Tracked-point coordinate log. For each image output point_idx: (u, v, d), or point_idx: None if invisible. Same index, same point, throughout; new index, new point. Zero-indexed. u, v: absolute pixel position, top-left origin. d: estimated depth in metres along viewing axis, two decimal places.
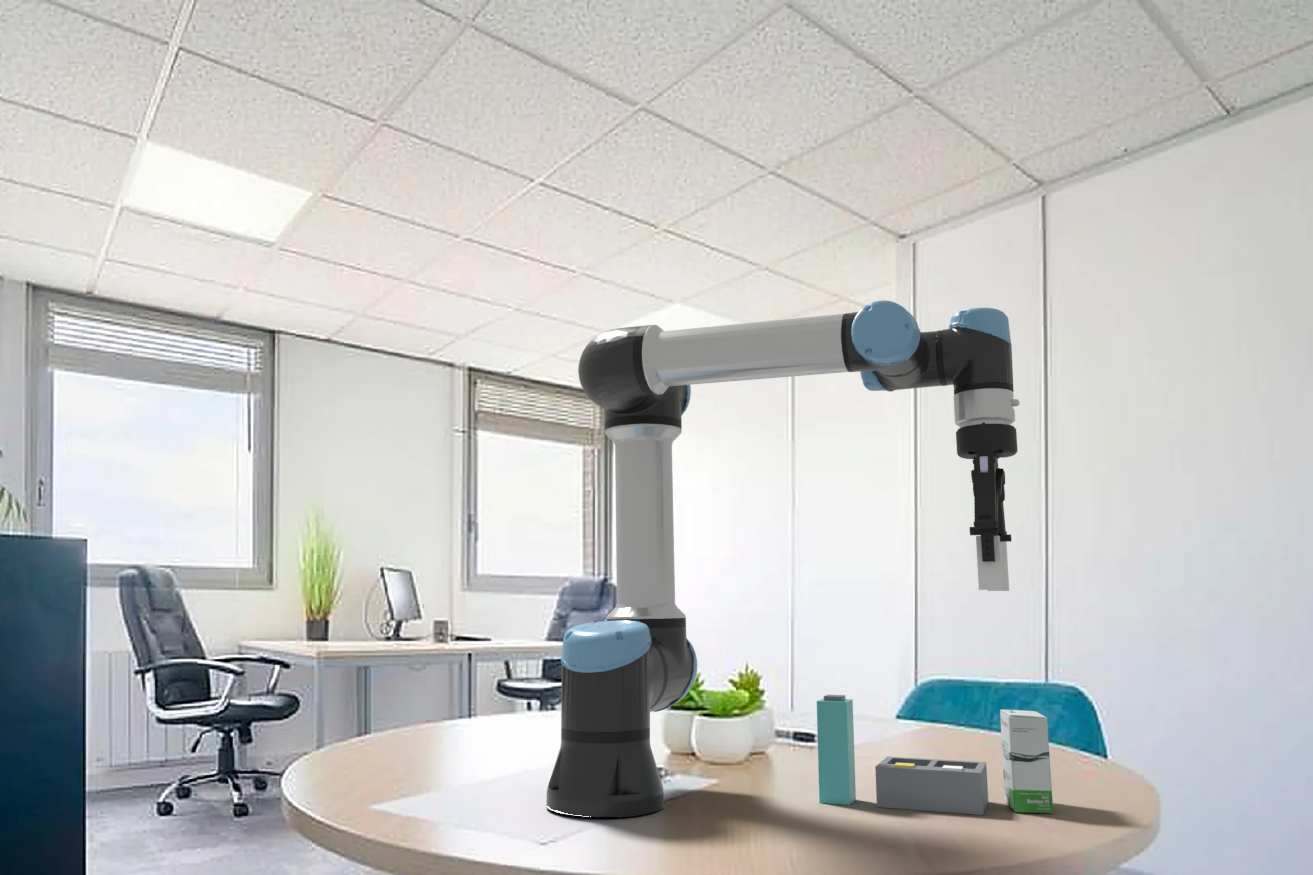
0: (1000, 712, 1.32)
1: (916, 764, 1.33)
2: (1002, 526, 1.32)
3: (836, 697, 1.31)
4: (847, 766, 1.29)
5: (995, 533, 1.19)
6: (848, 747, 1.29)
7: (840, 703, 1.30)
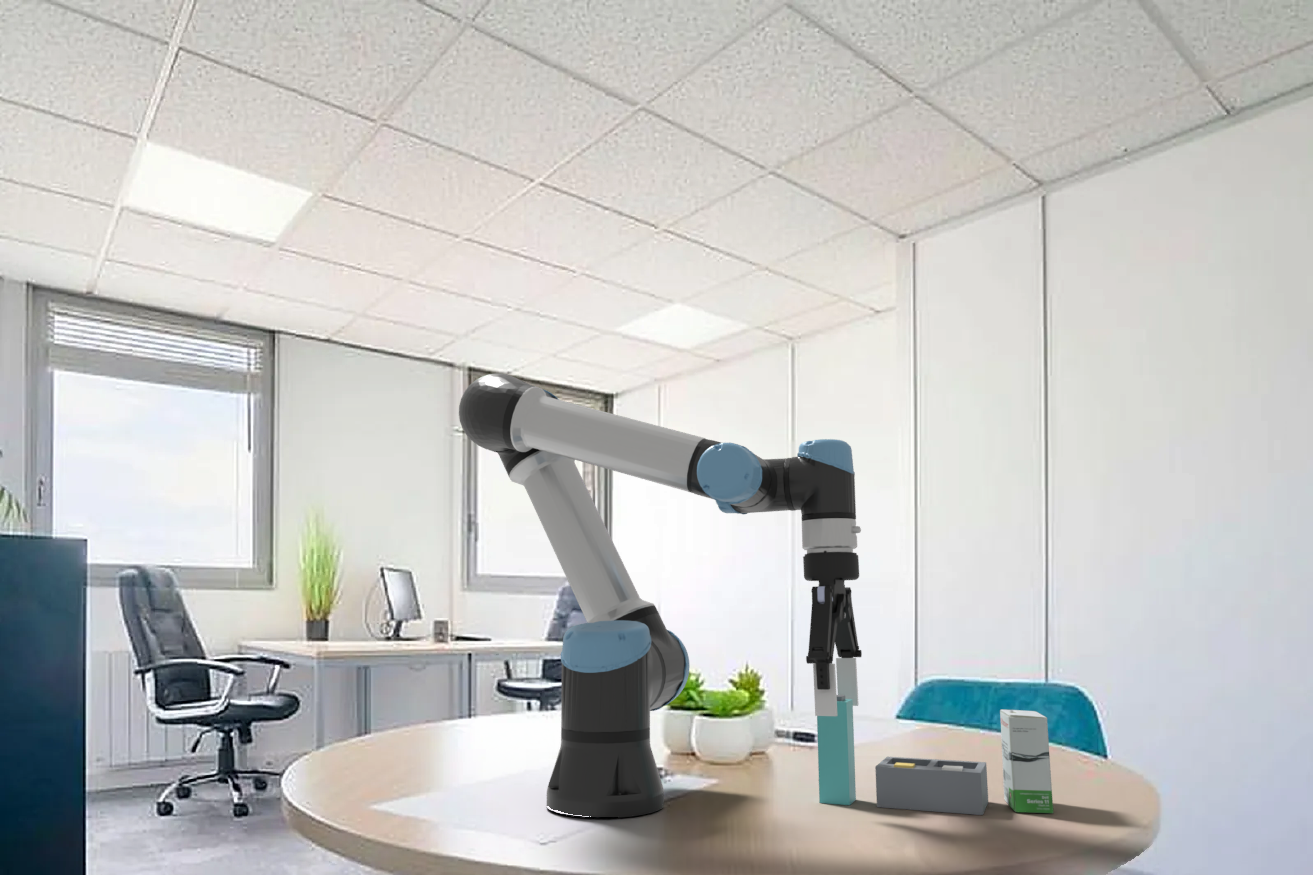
0: (1000, 712, 1.32)
1: (916, 764, 1.33)
2: (851, 644, 1.39)
3: None
4: (847, 766, 1.29)
5: (829, 662, 1.26)
6: (848, 747, 1.29)
7: (840, 703, 1.30)
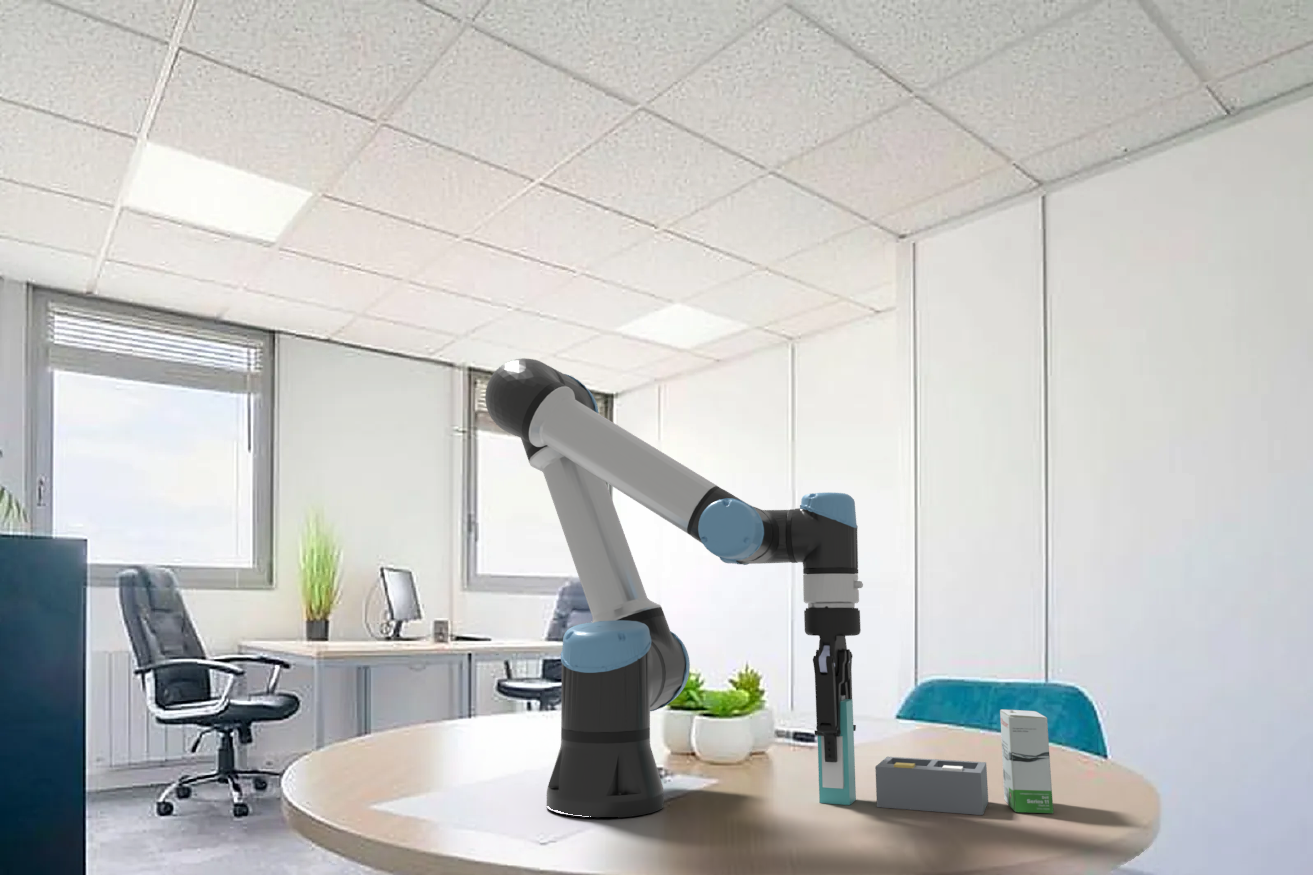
0: (1000, 712, 1.32)
1: (916, 764, 1.33)
2: None
3: None
4: (847, 766, 1.29)
5: (837, 736, 1.28)
6: (848, 747, 1.29)
7: (840, 703, 1.30)
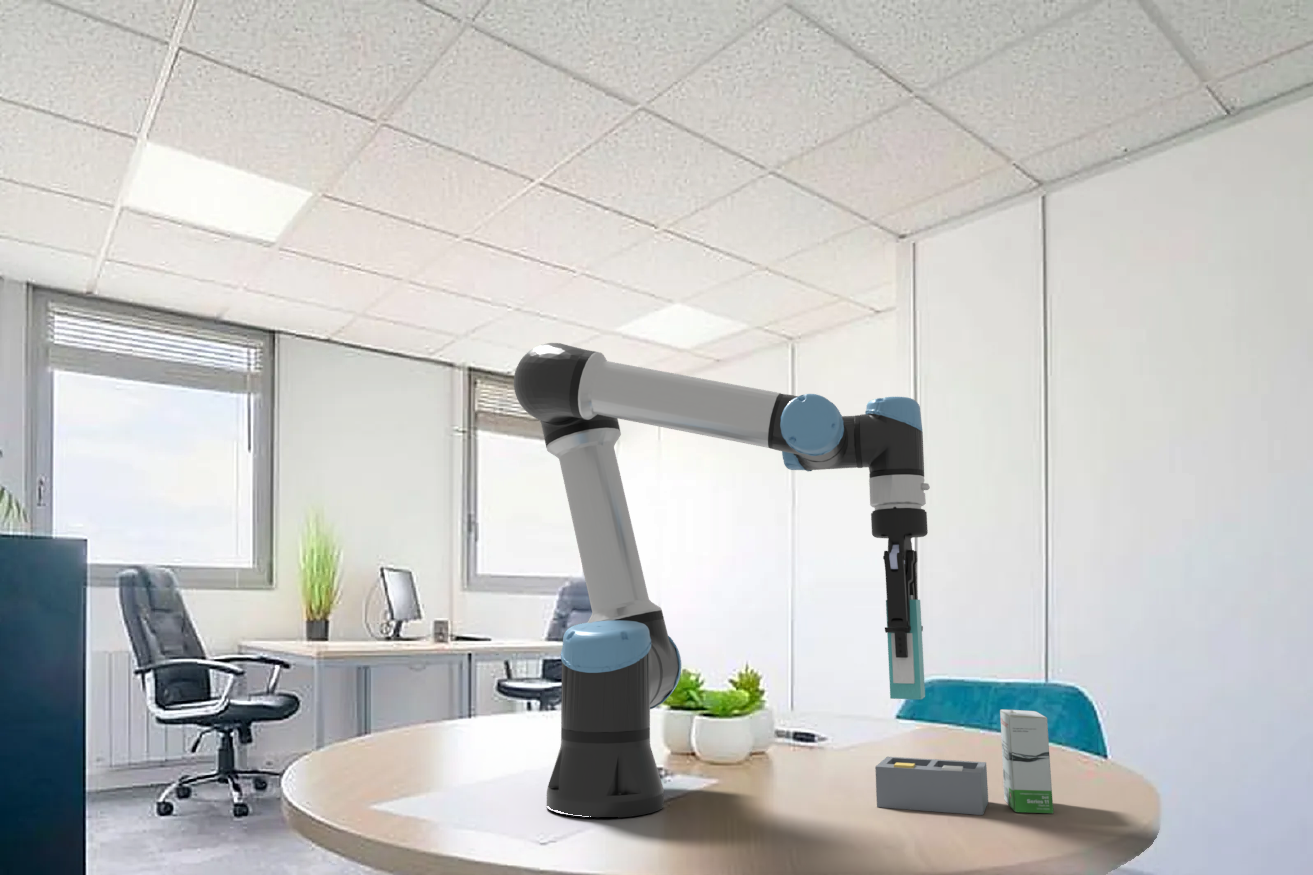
0: (1000, 712, 1.32)
1: (916, 764, 1.33)
2: None
3: None
4: (918, 662, 1.30)
5: (908, 632, 1.30)
6: (918, 643, 1.31)
7: (910, 601, 1.32)
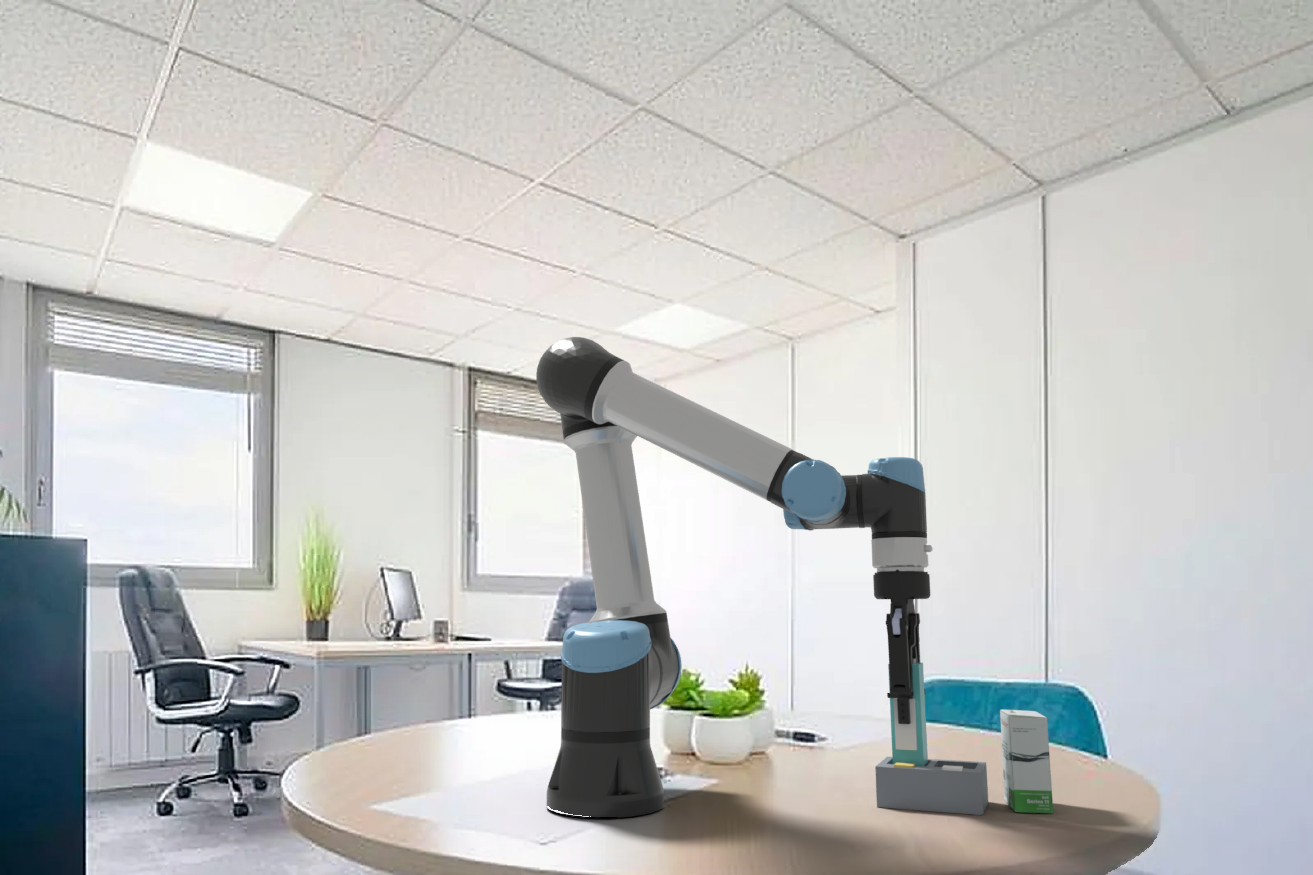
0: (1000, 712, 1.32)
1: None
2: None
3: None
4: (920, 728, 1.29)
5: (910, 698, 1.29)
6: (921, 709, 1.30)
7: (913, 665, 1.31)
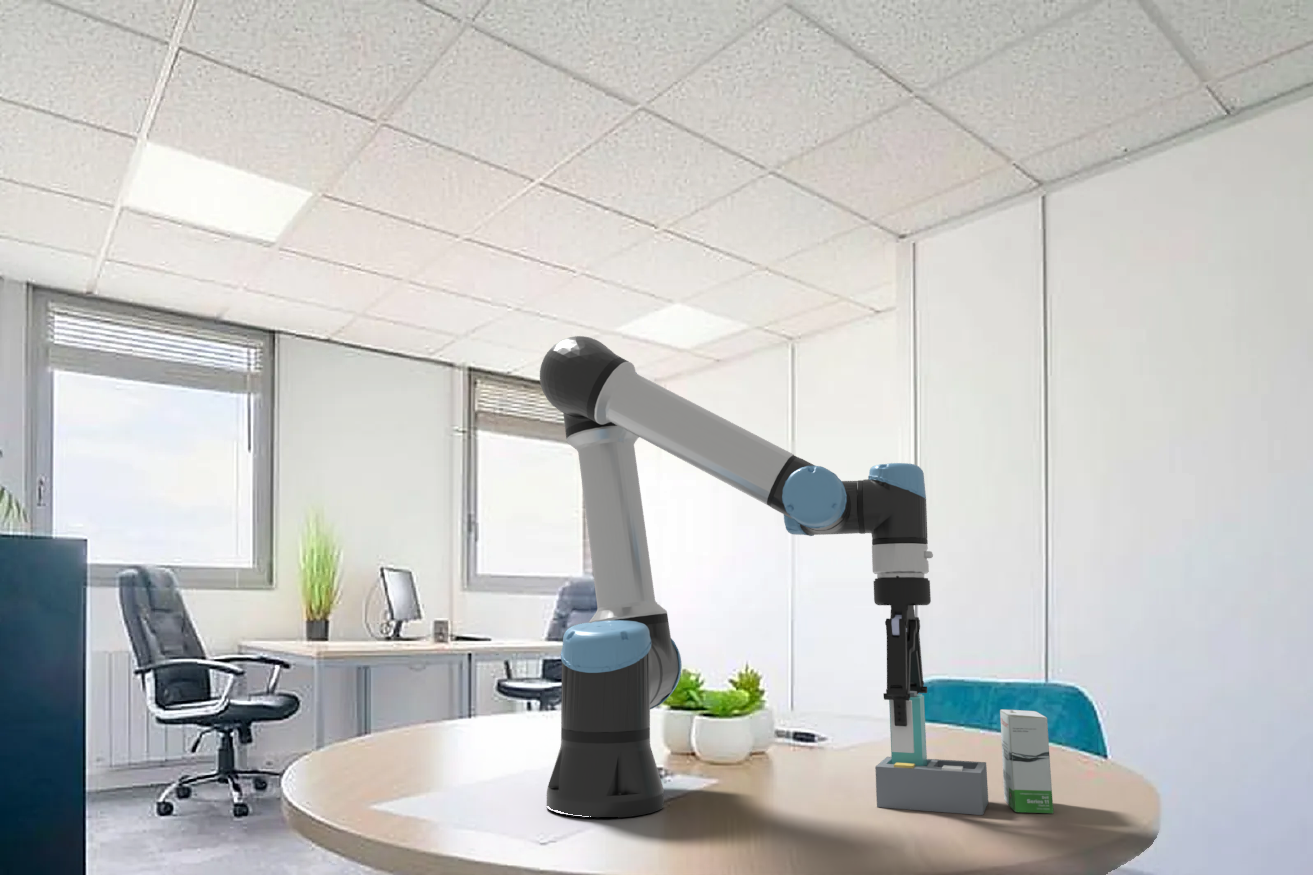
0: (1000, 712, 1.32)
1: None
2: (917, 676, 1.36)
3: None
4: (921, 762, 1.28)
5: (907, 700, 1.27)
6: (922, 743, 1.29)
7: (913, 699, 1.30)
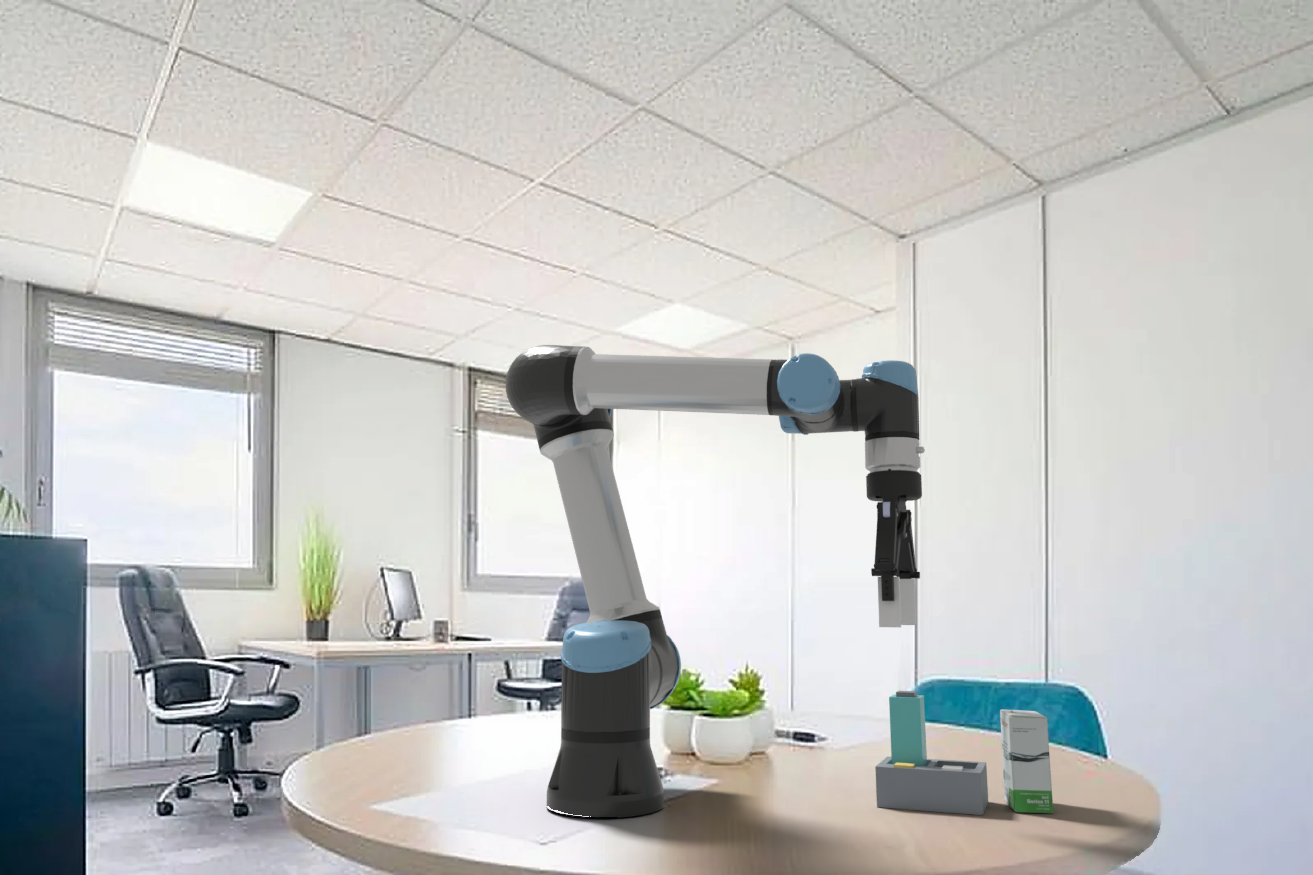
0: (1000, 712, 1.32)
1: None
2: (910, 564, 1.40)
3: (909, 693, 1.31)
4: (921, 762, 1.28)
5: (894, 574, 1.27)
6: (922, 743, 1.29)
7: (913, 699, 1.30)
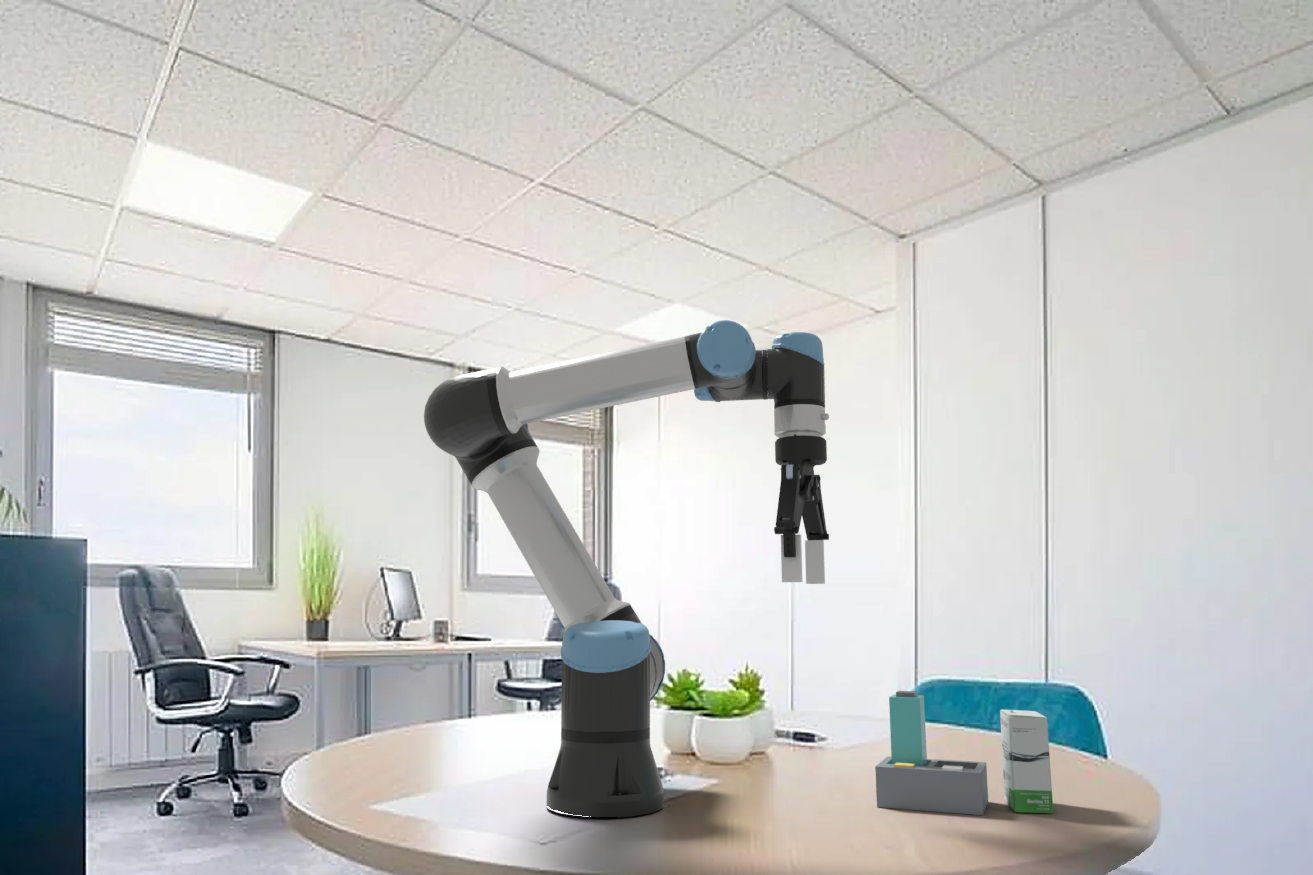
0: (1000, 712, 1.32)
1: None
2: (819, 526, 1.48)
3: (909, 693, 1.31)
4: (921, 762, 1.28)
5: (795, 532, 1.35)
6: (922, 743, 1.29)
7: (913, 699, 1.30)
